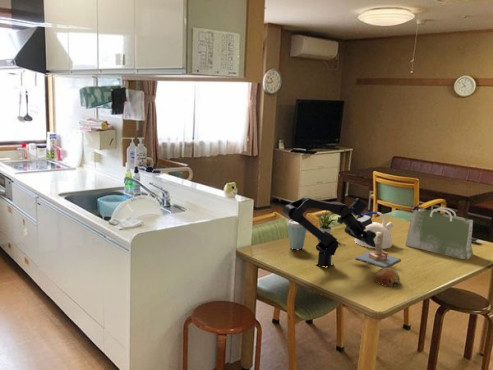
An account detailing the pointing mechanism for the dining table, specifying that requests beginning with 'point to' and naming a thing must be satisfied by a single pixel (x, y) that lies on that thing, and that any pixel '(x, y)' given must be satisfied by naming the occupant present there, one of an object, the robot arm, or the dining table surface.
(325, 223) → the house plant
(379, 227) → the kettle
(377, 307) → the dining table surface
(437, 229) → the grocery bag
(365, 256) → the mat
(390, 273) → the bread roll
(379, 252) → the cylinder on pink base
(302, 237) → the disposable coffee cup
